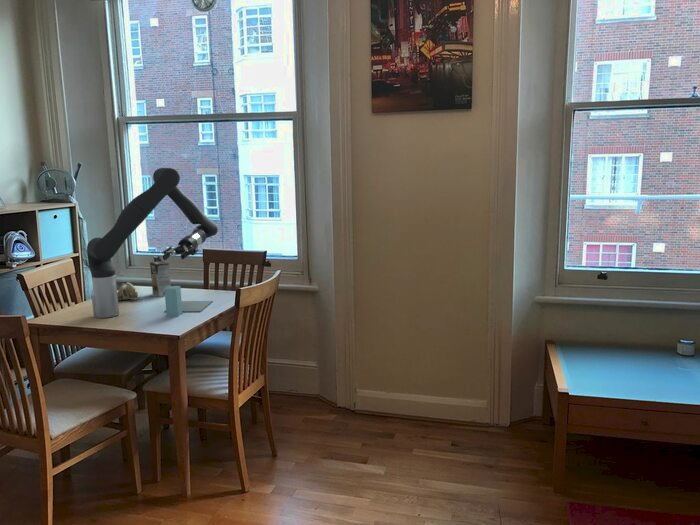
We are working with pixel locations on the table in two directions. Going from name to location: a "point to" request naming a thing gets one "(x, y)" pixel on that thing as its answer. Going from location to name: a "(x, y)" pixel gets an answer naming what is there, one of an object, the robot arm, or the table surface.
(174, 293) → the card box
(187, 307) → the rubber mat
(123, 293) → the ceramic sculpture
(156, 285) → the coffee box
